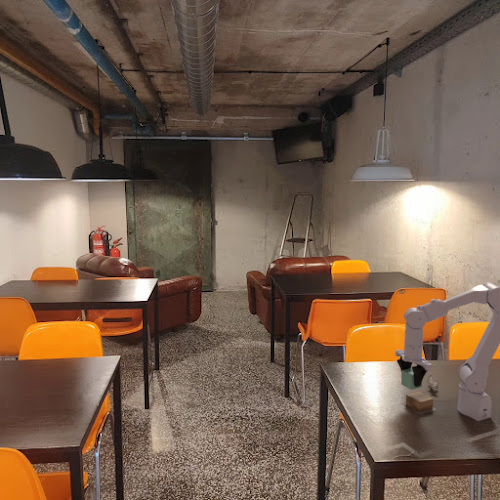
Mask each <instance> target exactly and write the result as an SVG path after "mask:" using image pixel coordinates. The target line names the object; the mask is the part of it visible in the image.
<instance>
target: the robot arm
mask: <svg viewBox="0 0 500 500" xmlns="http://www.w3.org/2000/svg"><path fill="white" fill-rule="evenodd" d="M473 303H476V304H481V305H482V304H483V305H488V307H489V308H490V310H491V312H492V316H491V318H490V320H489V322H488V324H487V327H486V328H485V330H484V332H483V334H482V335H481V338H480V340H479V342H478V343H477V346H476V348H475V350H474V351H473V354H472V356H470V357H469V358H467V359H466V361H465V362H464V363H463V364H461V365H460V367H459V368H458V370H457V374H458V376H459V378H460V379H461V380H460V382H459V383H458V398H457V411H458V412H459V413H460V414H462V415H464V416H467V417H470V418H471V419H473V420H475V421H477V422H480V421H483V420H487V419H490V418H491V417H492V406H493V405H492V404H493V401H492V397H491V396H490V395H488V394H487V393H486V391H485V389H486V387H487V385H488V384H487V381H488V380H487V379H488V377H489V365H490V364H491V362H492V360H493V358H494V356H495V354H496V352H497V350H498V348H499V346H500V285H498V283H495V282H490V281H488V282H485V283H483V284H478V285H475V286H474V287H472V288H470V289H468V290H466V291H463V292H460V293H459V294H457V295H454V296H451V297H449V298H447V299H445V300H443V299H440V298H437V299H435V298H432V299H430V302H427V303H424V304H421V305H420V304H418V305H416V307H410V308H408V309H407V310H406V311H405V313H404V314H403V318H404V321H405V326H404V327H405V330H404V342H403V344H404V345H403V346H404V347H403V348H404V349H403V350H402V349H396V350H395V353H394V355H395V357H399V358H398V359H397V360H396V363H397V364H398V366H399V369H400V371H401V373H402V370H405V369H410V368H412V370H413V373H414V386H415V387H419V386H421V383H422V384H423V380H424V377H425V376H426V374H427V373H428V371H431V370H433V363H430V361H428V360H427V359H425V358H424V357H423V350H424V349H423V348H424V347H423V346H424V344H423V343H424V327H425V325H426V323H430V322H432V321H435V320H438V319H440V318H443V317H446V316H447V315H448V313H449V311H451V310H454V309H458V308H459V307H463V306H466V305H469V304H473ZM413 364H414V365H413ZM412 365H413V366H412Z"/></svg>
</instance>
